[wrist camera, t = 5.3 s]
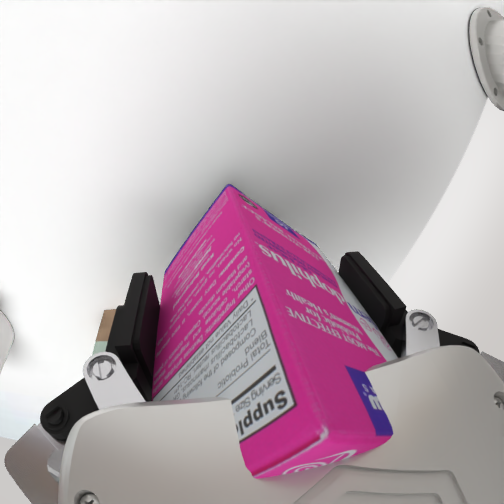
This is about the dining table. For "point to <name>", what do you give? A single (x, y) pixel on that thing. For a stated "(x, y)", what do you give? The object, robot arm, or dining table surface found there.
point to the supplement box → (270, 340)
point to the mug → (5, 338)
